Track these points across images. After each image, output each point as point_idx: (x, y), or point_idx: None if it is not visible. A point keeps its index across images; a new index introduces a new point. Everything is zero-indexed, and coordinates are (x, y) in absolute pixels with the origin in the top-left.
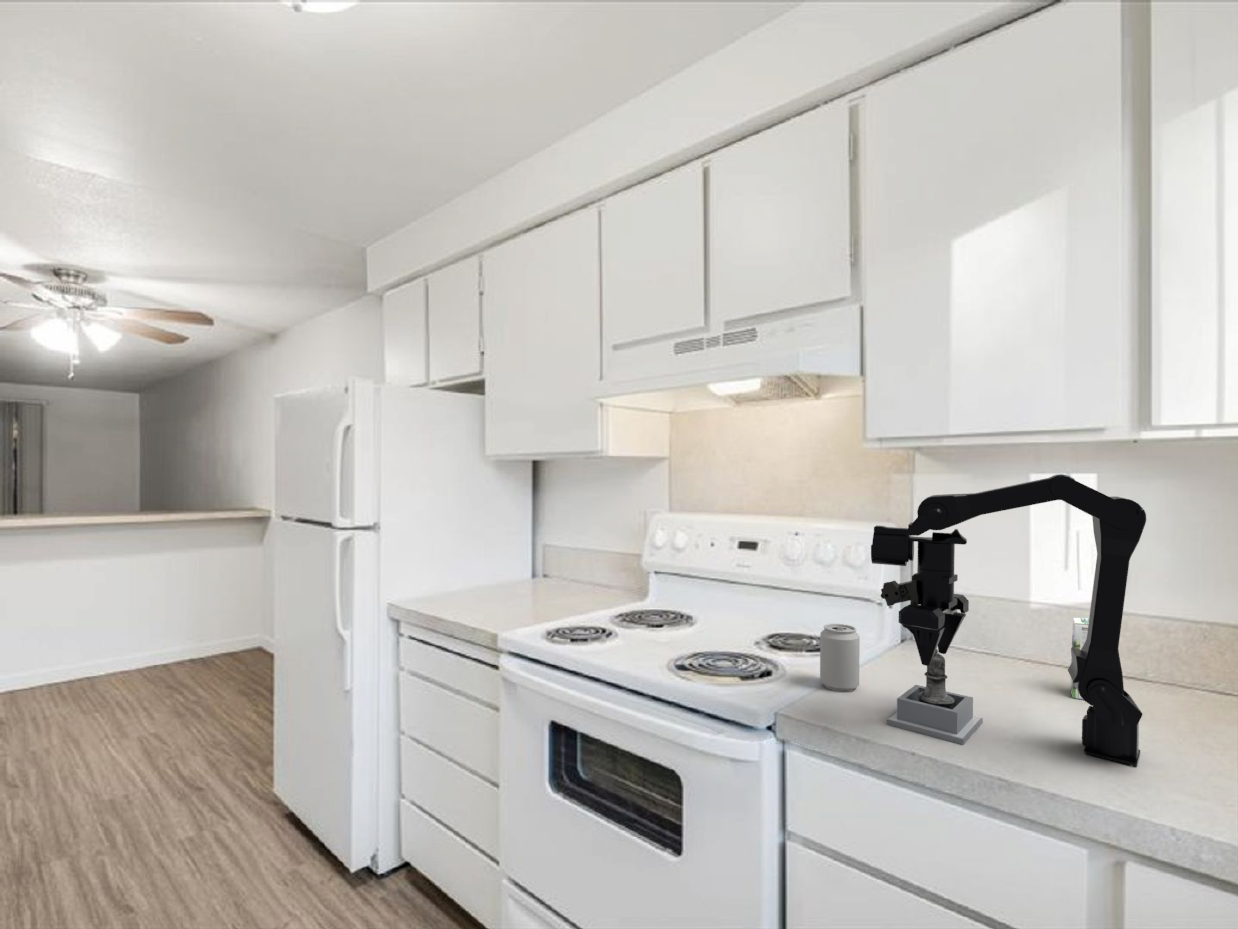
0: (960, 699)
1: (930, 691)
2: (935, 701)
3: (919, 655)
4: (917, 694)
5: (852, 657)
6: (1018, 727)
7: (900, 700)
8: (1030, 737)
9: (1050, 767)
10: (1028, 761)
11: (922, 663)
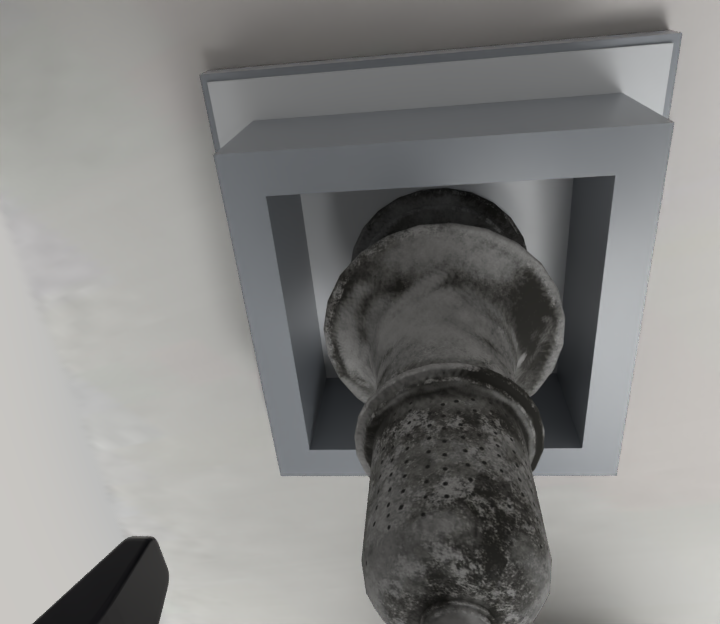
0: (580, 414)
1: (373, 356)
2: (348, 365)
3: (42, 615)
4: (405, 235)
5: None
6: (652, 510)
7: (223, 176)
8: (558, 550)
9: (323, 610)
10: (317, 570)
11: (120, 549)
